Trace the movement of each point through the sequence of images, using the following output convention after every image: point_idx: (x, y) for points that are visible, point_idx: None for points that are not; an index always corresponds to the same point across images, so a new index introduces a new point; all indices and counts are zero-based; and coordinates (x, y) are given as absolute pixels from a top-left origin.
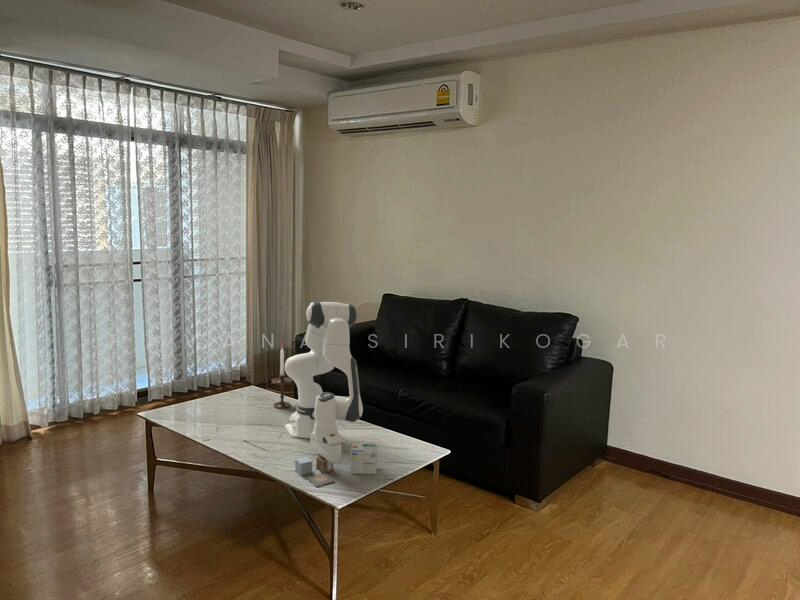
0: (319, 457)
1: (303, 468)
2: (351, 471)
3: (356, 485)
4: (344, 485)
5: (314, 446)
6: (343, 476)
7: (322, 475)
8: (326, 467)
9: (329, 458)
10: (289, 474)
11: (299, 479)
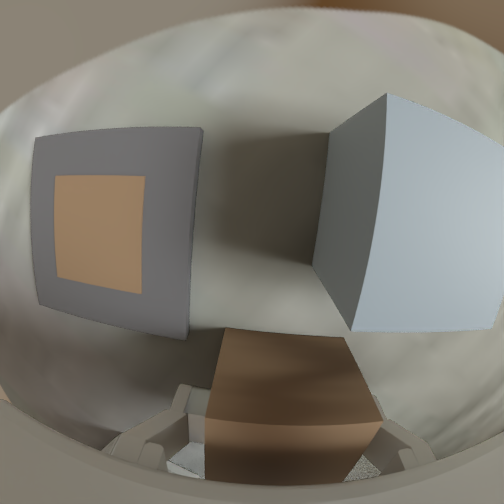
0: (350, 442)
1: (348, 156)
2: (113, 444)
3: (5, 352)
4: (10, 313)
5: (487, 482)
6: (103, 393)
7: (153, 293)
8: (203, 393)
9: (19, 450)
10: (405, 77)
11: (255, 73)
